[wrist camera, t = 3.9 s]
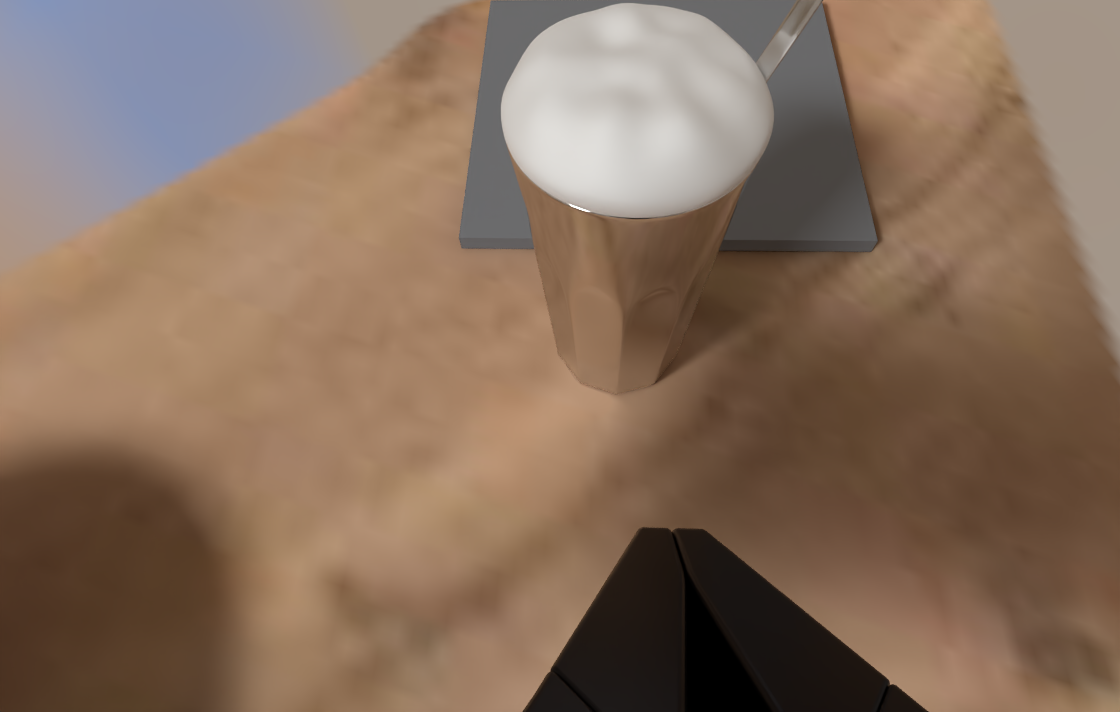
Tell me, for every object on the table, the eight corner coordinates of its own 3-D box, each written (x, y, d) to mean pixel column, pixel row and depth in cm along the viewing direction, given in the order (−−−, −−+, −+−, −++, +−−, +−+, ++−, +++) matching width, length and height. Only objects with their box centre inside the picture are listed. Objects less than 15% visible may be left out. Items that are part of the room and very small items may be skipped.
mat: (871, 251, 20) (877, 240, 19) (461, 248, 20) (458, 237, 20) (816, 10, 25) (820, -3, 24) (492, 12, 25) (490, 0, 25)
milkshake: (755, 384, 18) (922, 52, 9) (559, 437, 17) (530, 141, 8) (693, 251, 20) (778, -123, 11) (516, 295, 19) (457, -61, 10)
